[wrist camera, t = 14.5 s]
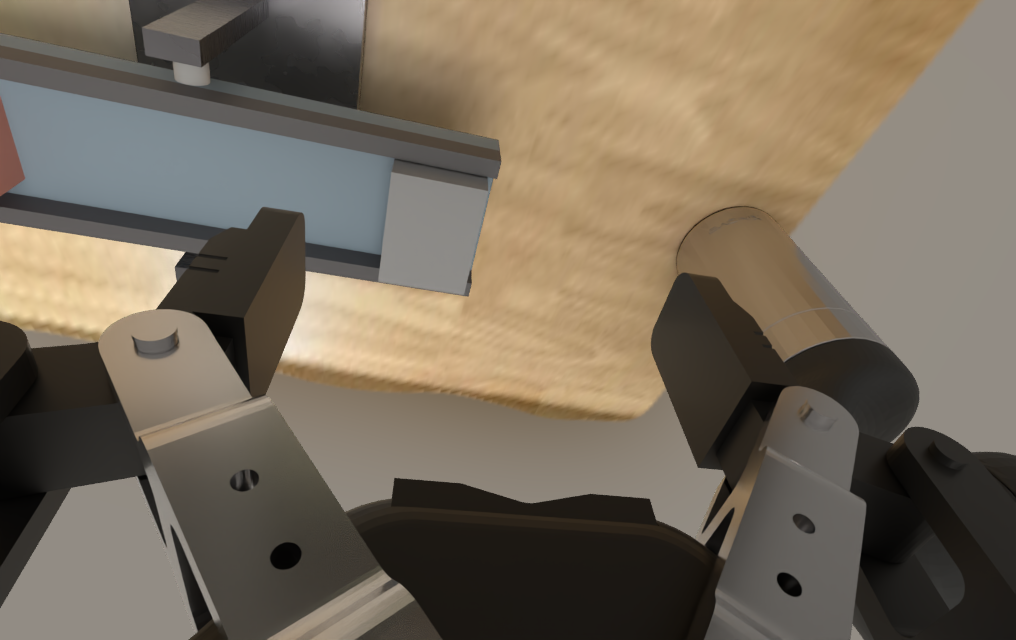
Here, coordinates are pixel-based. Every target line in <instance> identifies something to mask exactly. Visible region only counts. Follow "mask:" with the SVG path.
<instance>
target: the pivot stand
mask: <svg viewBox="0 0 1016 640" xmlns="http://www.w3.org/2000/svg"><path fill="white" fill-rule="evenodd" d="M367 2H368V0H129V5H130V11H131V18H132V25H133V32H134V39H135V45H136V52H137V59H138V63H142V64H147V65H151V66H156V67H161V68H165V69H170V70H174V69H173V62H178V63H182V64H187V65H192V66H196V67H201V68H202V67H203V66H204V65H206V64H207V63H208V62H209V69H210V78H212V79H217V80H221V81H226V82H230V83H235V84H240V85H244V86H249V87H254V88H258V89H263V90H268V91H272V92H277V93H282V94H286V95H291V96H296V97H300V98H305V99H310V100H314V101H319V102H323V103H328V104H333V105H337V106H342V107H347V108H351V109H356V110H359V103H360V90H361V77H362V65H363V52H364V39H365V27H366V14H367ZM198 255H199V254H197V253H190V252H185V254H184V255H183V256H182V258H181V259H180V261H179V262H178V263H177V265H176V266H175V271H176V278H177V281H178V280H179V278H180V277H181V276H182V274H183V273H184V272H185V271H186V269H189V265H190V264H191V263H192V261H193V260H194V259H195V257H196V256H197V257H198Z"/></svg>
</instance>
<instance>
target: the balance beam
mask: <svg viewBox="0 0 1016 640" xmlns="http://www.w3.org/2000/svg"><path fill="white" fill-rule="evenodd" d="M173 69H174V70H170V69H165V68H161V67H156V66H151V65H147V64H142V63H137V62H133V61H128V60H124V59H119V58H114V57H110V56H105V55H100V54H96V53H91V52H86V51H82V50H77V49H72V48H68V47H63V46H58V45H54V44H49V43H44V42H40V41H35V40H30V39H26V38H21V37H17V36H12V35H7V34H3V33H0V96H1V100H2V103H3V106H4V110H5V113H6V116H7V120H8V123H9V126H10V130H11V133H12V136H13V139H14V143H15V146H16V149H17V153H18V156H19V159H20V163H21V166H22V169H23V173H24V176H25V180H23V181H22V182H20V183H19V184H17V185H16V186H14V187H13V188H12V189H10V190H9V191H7V192H6V193H4V194H3V195H2V196H0V222H1V223H7V224H13V225H20V226H26V227H32V228H39V229H45V230H51V231H58V232H64V233H70V234H77V235H83V236H89V237H96V238H102V239H108V240H114V241H121V242H127V243H133V244H140V245H146V246H152V247H159V248H165V249H171V250H178V251H184V252H190V253H197V254H199V252H200V251H201V249H202V248H203V247H204V246H205V244H206V243H207V242H208V240H209V239H210V238H212V237H213V236H215V235H217V234H219V233H221V232H223V231H225V230H227V229H228V228H230V227H235V228H242V229H247V228H248V227H249V225H250V224H251V222H252V221H253V219H254V218H255V216H256V215H257V213H258V212H259V210H260V209H261V208H262V207H269V208H276V209H282V210H289V211H295V212H302V213H303V214H304V218H305V271H310V272H316V273H323V274H329V275H335V276H342V277H348V278H354V279H361V280H367V281H373V282H380V283H386V284H392V285H399V286H405V287H411V288H417V289H424V290H430V291H436V292H443V293H449V294H455V295H462V296H469V292H470V288H471V284H472V279H471V270H472V265H473V261H474V257H475V253H476V249H477V244H478V240H479V236H480V232H481V228H482V223H483V219H484V215H485V211H486V207H487V202H488V198H489V194H490V190H491V186H492V182H493V178H494V179H497V177H498V173H499V169H500V165H501V156H500V148H499V141H498V140H496V139H491V138H486V137H482V136H477V135H472V134H468V133H463V132H458V131H454V130H449V129H444V128H440V127H435V126H430V125H426V124H421V123H417V122H412V121H407V120H403V119H398V118H393V117H389V116H384V115H379V114H375V113H370V112H365V111H361V110H356V109H351V108H347V107H342V106H337V105H333V104H328V103H323V102H319V101H314V100H310V99H305V98H300V97H296V96H291V95H286V94H282V93H277V92H272V91H268V90H263V89H258V88H254V87H249V86H244V85H240V84H235V83H230V82H226V81H221V80H217V79H212V78H210V69H209V62H208V63H207V64H206V65H204V66H203V67H202V68H201V67H196V66H192V65H187V64H182V63H178V62H173Z"/></svg>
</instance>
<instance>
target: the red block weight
mask: <svg viewBox="0 0 1016 640" xmlns="http://www.w3.org/2000/svg"><path fill="white" fill-rule="evenodd" d="M23 180H25V176H24V173H23V169H22V166H21V163H20V159H19V156H18V153H17V149H16V146H15V143H14V139H13V136H12V133H11V130H10V126H9V123H8V120H7V116H6V113H5V110H4V106H3V103H2V100H1V96H0V196H2V195H3V194H4V193H6V192H7V191H9V190H10V189H12V188H13V187H14V186H16V185H17V184H19V183H20V182H22V181H23Z"/></svg>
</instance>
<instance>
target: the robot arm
mask: <svg viewBox="0 0 1016 640" xmlns="http://www.w3.org/2000/svg"><path fill="white" fill-rule="evenodd" d="M676 264H677V271H678V274H679V276H678V277H677V278H676V280H675V282H674V284H673V286H672V288H671V291H670V293H669V295H668V297H667V300H666V302H665V304H664V306H663V308H662V311H661V313H660V315H659V317H658V320H657V322H656V324H655V326H654V329H653V333H652V338H651V350H652V354H653V357H654V360H655V362H656V365H657V367H658V370H659V372H660V374H661V377H662V379H663V382H664V384H665V387H666V389H667V392H668V394H669V397H670V399H671V402H672V404H673V406H674V409H675V412H676V414H677V417H678V419H679V421H680V424H681V426H682V429H683V431H684V434H685V436H686V439H687V441H688V444H689V446H690V448H691V451H692V454H693V456H694V459H695V461H696V464H697V466H698V468H707V469H718V470H723V471H724V473H725V477H724V478H723V480H722V481H721V483H720V484H719V486H718V487H717V489H716V492H715V494H714V496H713V498H712V501H711V503H710V505H709V508H708V510H707V512H706V514H705V516H704V519H703V521H702V523H701V525H700V528H699V530H698V532H697V535H696V537H695V539H694V538H692V537H691V536H689V535H687V534H686V533H684V532H682V531H680V530H678V529H676V528H674V527H671V526H669V525H667V524H665V523H662V522H659V521H656V519H655V515H654V512H653V509H652V505H651V502H650V499H644V498H633V497H621V496H609V495H596V494H588V495H582V496H575V497H569V498H563V499H558V500H551V501H545V502H539V503H524V502H519V501H516V500H513V499H510V498H507V497H503V496H500V495H497V494H494V493H490V492H487V491H484V490H481V489H477V488H474V487H471V486H467V485H464V484H460V483H449V482H436V481H424V480H411V479H400V478H395V479H394V486H393V494H392V499H386V500H380V501H376V502H372V503H369V504H365V505H361V506H359V507H356V508H354V509H351V510H349V511H346V512H345V511H344V510H343V508H342V507H341V505H340V504H339V502H338V501H337V499H336V498H335V496H334V495H333V493H332V491H331V490H330V489H329V487H328V485H327V484H326V482H325V481H324V479H323V478H322V476H321V475H320V473H319V472H318V470H317V469H316V467H315V466H314V464H313V463H312V461H311V460H310V458H309V456H308V455H307V453H306V452H305V450H304V449H303V447H302V446H301V444H300V443H299V441H298V440H297V438H296V436H295V435H294V433H293V432H292V430H291V429H290V427H289V426H288V424H287V423H286V421H285V420H284V418H283V417H282V415H281V413H280V412H279V411H278V409H277V407H276V406H275V405H274V403H273V402H272V400H271V399H270V398H269V397H268V396H267V395H266V392H267V390H268V387H269V385H270V383H271V380H272V377H273V375H274V373H275V370H276V368H277V365H278V363H279V360H280V358H281V356H282V353H283V351H284V348H285V346H286V343H287V341H288V338H289V336H290V334H291V331H292V329H293V326H294V324H295V321H296V319H297V316H298V314H299V311H300V309H301V306H302V302H303V297H304V291H305V218H304V214H303V213H302V212H295V211H289V210H282V209H276V208H269V207H262V208H261V209H260V210H259V212H258V213H257V215H256V216H255V218H254V219H253V221H252V222H251V224H250V225H249V227H248V228H247V229H242V228H235V227H230V228H228V229H227V230H225V231H223V232H221V233H219V234H217V235H215V236H213V237H212V238H210V239H209V240H208V242H207V243H206V244H205V246H204V247H203V248H202V249H201V251H200V252H199V255H198V257H197V256H196V257H195V259H194V260H193V261H192V263H191V264H190V265H189V269H186V271H185V272H184V273H183V274H182V276H181V277H180V278H179V280H178V281H177V282H176V284H175V285H174V286H173V288H172V289H171V290H170V292H169V293H168V294H167V296H166V297H165V298H164V300H163V301H162V302H161V303H160V305H159V306H158V307H157V309H156V310H149V311H143V312H139V313H135V314H132V315H129V316H126V317H124V318H122V319H120V320H118V321H116V322H115V323H113V324H112V325H110V326H109V327H108V328H107V329H106V330H105V331H104V332H103V334H102V335H101V337H100V339H99V342H96V343H88V344H80V345H69V346H68V345H67V346H57V347H56V346H55V347H43V348H33V349H32V348H31V347H30V345H29V342H28V340H27V337H26V334H25V333H24V332H23V331H22V330H21V329H20V328H18V327H17V326H15V325H13V324H10V323H7V322H3V321H0V608H1V606H2V604H3V602H4V600H5V599H6V597H7V596H8V594H9V592H10V591H11V589H12V587H13V586H14V584H15V582H16V580H17V579H18V577H19V575H20V574H21V572H22V570H23V569H24V567H25V565H26V564H27V562H28V560H29V558H30V557H31V555H32V553H33V552H34V550H35V548H36V547H37V545H38V543H39V541H40V540H41V538H42V536H43V535H44V533H45V531H46V529H47V528H48V526H49V525H50V523H51V521H52V519H53V518H54V516H55V514H56V513H57V511H58V509H59V507H60V506H61V504H62V502H63V501H64V499H65V497H66V496H67V494H68V492H69V490H70V489H71V488H72V487H77V486H84V485H89V484H95V483H101V482H107V481H113V480H118V479H125V478H130V477H135V478H136V480H137V483H138V485H139V488H140V490H141V493H142V495H143V497H144V500H145V503H146V505H147V508H148V510H149V513H150V515H151V518H152V520H153V523H154V525H155V528H156V530H157V533H158V535H159V538H160V540H161V543H162V545H163V548H164V550H165V553H166V555H167V558H168V560H169V563H170V566H171V568H172V571H173V574H174V577H175V580H176V583H177V586H178V589H179V592H180V595H181V598H182V600H183V603H184V606H185V609H186V612H187V614H188V617H189V620H190V622H191V625H192V627H193V630H194V632H195V635H194V636H192V637H191V638H190V639H189V640H850V638H851V630H852V624H853V625H854V626H855V628H856V629H857V631H858V632H859V633H860V634H861V636H862V637H863V639H864V640H1016V456H1015V455H1011V454H1006V453H999V452H972V453H971V452H970V451H969V450H968V449H966V448H965V447H964V446H962V445H961V444H959V443H958V442H956V441H955V440H953V439H951V438H950V437H948V436H946V435H944V434H942V433H939V432H937V431H934V430H931V429H928V428H923V427H911V428H908V429H907V430H906V431H905V432H904V433H903V434H902V435H901V436H900V437H899V438H898V439H897V441H896V442H895V443H894V444H893V443H890V442H891V441H893V440H894V439H895V438H896V437H897V436H898V435H899V434H900V433H901V432H902V431H903V430H904V429H905V427H906V426H907V425H908V424H909V422H910V421H911V420H912V418H913V416H914V414H915V412H916V410H917V407H918V403H919V388H918V385H917V383H916V380H915V378H914V377H913V375H912V374H911V372H910V371H909V370H908V368H907V367H906V366H905V365H904V364H903V363H902V362H901V361H900V359H899V358H898V357H897V356H896V355H895V354H894V353H893V352H892V351H891V350H890V349H889V347H888V346H887V345H886V344H885V343H884V342H883V341H882V340H881V339H880V337H879V336H878V335H877V334H876V333H875V332H874V331H873V330H872V329H871V327H870V326H869V325H868V324H867V323H866V322H865V321H864V320H863V318H861V317H860V316H859V314H858V313H857V312H856V311H855V310H854V309H853V308H852V307H851V305H850V304H849V303H848V302H847V301H846V300H845V299H844V298H843V297H842V295H841V294H840V293H839V292H838V291H837V290H836V289H835V287H834V286H833V285H832V284H831V283H830V282H829V281H828V280H827V279H826V277H825V276H824V275H823V274H822V273H821V272H820V271H819V270H818V269H817V267H816V266H815V265H814V264H813V263H812V262H811V261H810V260H809V258H808V257H807V256H806V255H805V254H804V253H803V252H802V251H801V250H800V248H799V247H798V246H797V245H796V244H795V243H794V242H793V240H792V239H791V238H790V237H789V236H788V235H787V234H786V233H785V231H784V230H783V229H782V228H781V227H780V226H779V225H778V224H777V223H776V221H775V220H774V219H773V218H772V217H770V216H769V215H768V214H767V213H765V212H763V211H761V210H759V209H755V208H750V207H735V208H730V209H725V210H723V211H720V212H717V213H715V214H713V215H711V216H709V217H707V218H706V219H704V220H703V221H701V222H700V223H699V224H698V225H696V226H695V227H694V228H693V229H692V230H691V231H690V233H689V234H688V235H687V236H686V238H685V239H684V241H683V243H682V244H681V246H680V249H679V252H678V255H677V263H676Z"/></svg>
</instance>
